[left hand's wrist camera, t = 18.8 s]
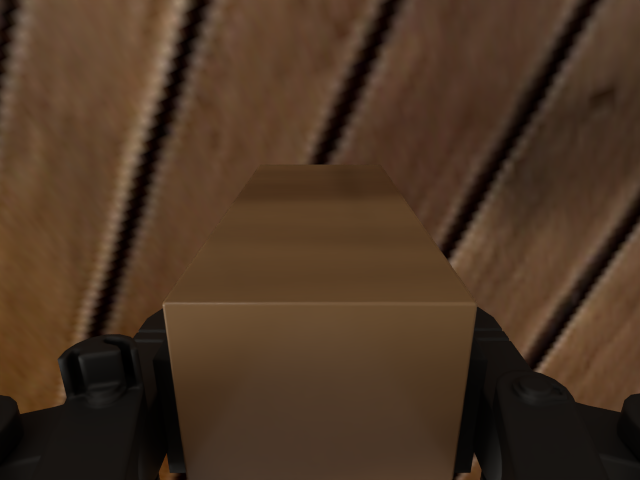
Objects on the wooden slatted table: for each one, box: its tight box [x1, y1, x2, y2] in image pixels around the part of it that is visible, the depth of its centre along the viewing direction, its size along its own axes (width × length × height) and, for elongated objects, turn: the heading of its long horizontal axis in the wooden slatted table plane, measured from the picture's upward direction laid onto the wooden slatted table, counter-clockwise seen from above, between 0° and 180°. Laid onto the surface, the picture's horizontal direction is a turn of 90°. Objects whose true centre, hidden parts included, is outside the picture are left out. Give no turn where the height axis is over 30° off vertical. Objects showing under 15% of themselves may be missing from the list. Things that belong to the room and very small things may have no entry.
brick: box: [163, 165, 477, 480], centre depth 13 cm, size 6×5×11 cm
